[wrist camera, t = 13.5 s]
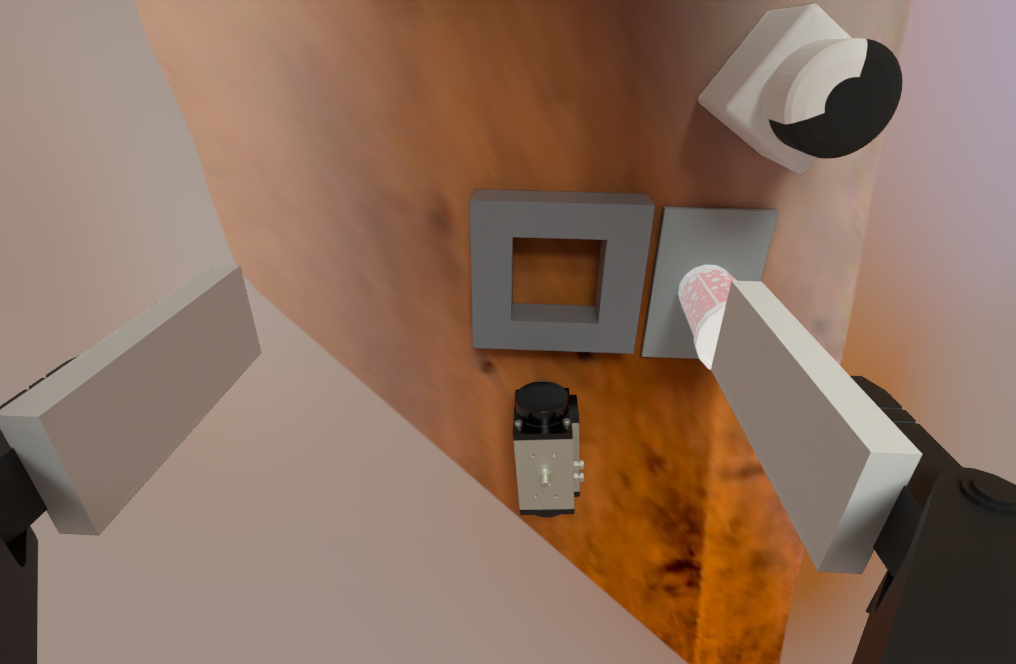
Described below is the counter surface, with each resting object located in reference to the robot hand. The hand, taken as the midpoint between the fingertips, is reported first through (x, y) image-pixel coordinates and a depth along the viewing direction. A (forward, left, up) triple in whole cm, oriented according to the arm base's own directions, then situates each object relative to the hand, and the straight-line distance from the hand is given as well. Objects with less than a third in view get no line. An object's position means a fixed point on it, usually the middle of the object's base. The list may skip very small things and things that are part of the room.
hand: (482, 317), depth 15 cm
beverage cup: (+12, +17, -30) cm, 37 cm away
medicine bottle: (-4, +18, -31) cm, 36 cm away
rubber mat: (+12, +17, -31) cm, 37 cm away
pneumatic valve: (+25, +4, -31) cm, 40 cm away
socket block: (+10, +4, -31) cm, 33 cm away
